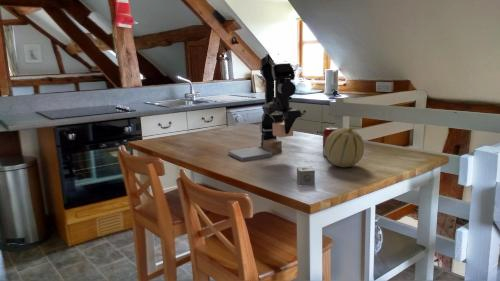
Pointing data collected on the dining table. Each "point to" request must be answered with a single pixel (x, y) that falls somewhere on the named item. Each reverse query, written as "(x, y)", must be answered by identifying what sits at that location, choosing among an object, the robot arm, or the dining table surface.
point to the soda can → (325, 135)
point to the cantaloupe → (344, 147)
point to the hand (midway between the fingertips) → (282, 132)
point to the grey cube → (305, 176)
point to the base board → (249, 153)
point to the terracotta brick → (281, 130)
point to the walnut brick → (272, 145)
